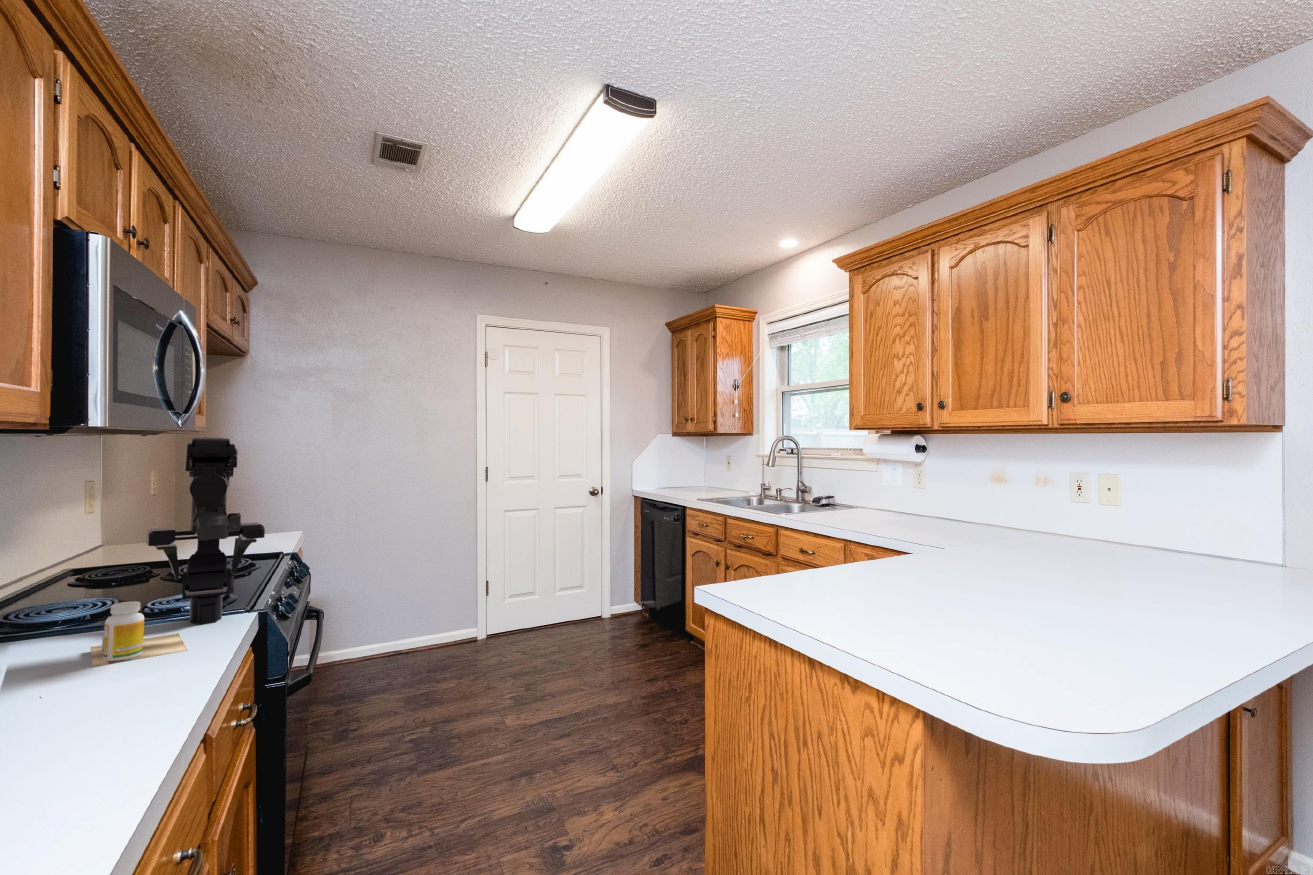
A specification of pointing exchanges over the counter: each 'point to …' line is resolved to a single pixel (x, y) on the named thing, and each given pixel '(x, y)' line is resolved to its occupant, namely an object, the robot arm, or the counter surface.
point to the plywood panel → (146, 649)
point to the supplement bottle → (123, 632)
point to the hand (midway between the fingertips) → (206, 576)
